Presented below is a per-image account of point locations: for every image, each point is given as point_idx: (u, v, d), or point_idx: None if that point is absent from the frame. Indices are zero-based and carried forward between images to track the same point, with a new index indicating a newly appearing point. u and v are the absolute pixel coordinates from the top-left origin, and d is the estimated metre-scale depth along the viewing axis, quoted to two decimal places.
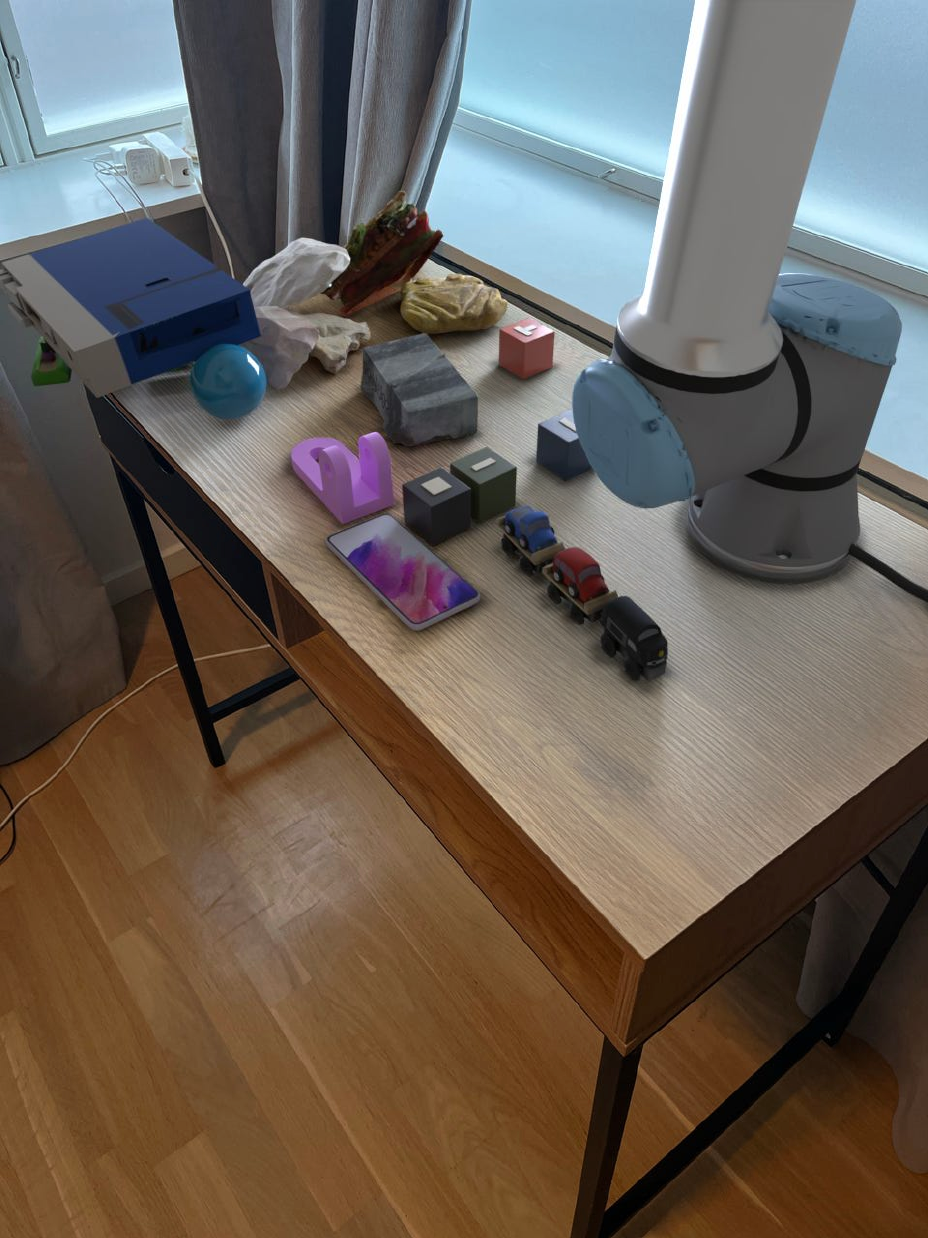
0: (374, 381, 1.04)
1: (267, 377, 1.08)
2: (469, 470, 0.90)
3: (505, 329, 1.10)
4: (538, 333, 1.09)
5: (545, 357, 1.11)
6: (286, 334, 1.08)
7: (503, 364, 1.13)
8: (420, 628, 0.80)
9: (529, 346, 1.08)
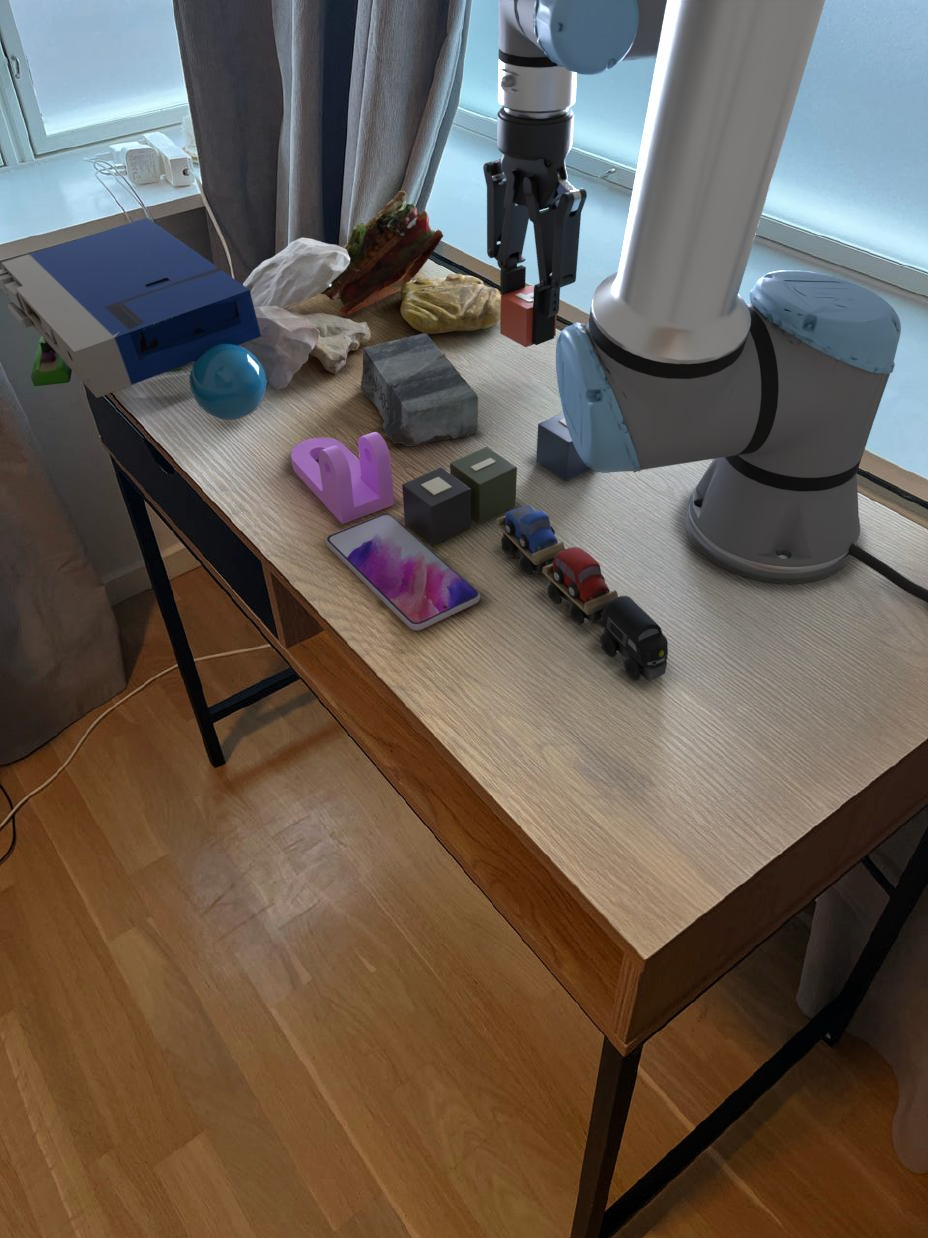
0: (374, 381, 1.04)
1: (267, 377, 1.08)
2: (469, 470, 0.90)
3: (507, 295, 1.07)
4: None
5: None
6: (286, 334, 1.08)
7: (505, 333, 1.09)
8: (420, 628, 0.80)
9: (531, 313, 1.05)
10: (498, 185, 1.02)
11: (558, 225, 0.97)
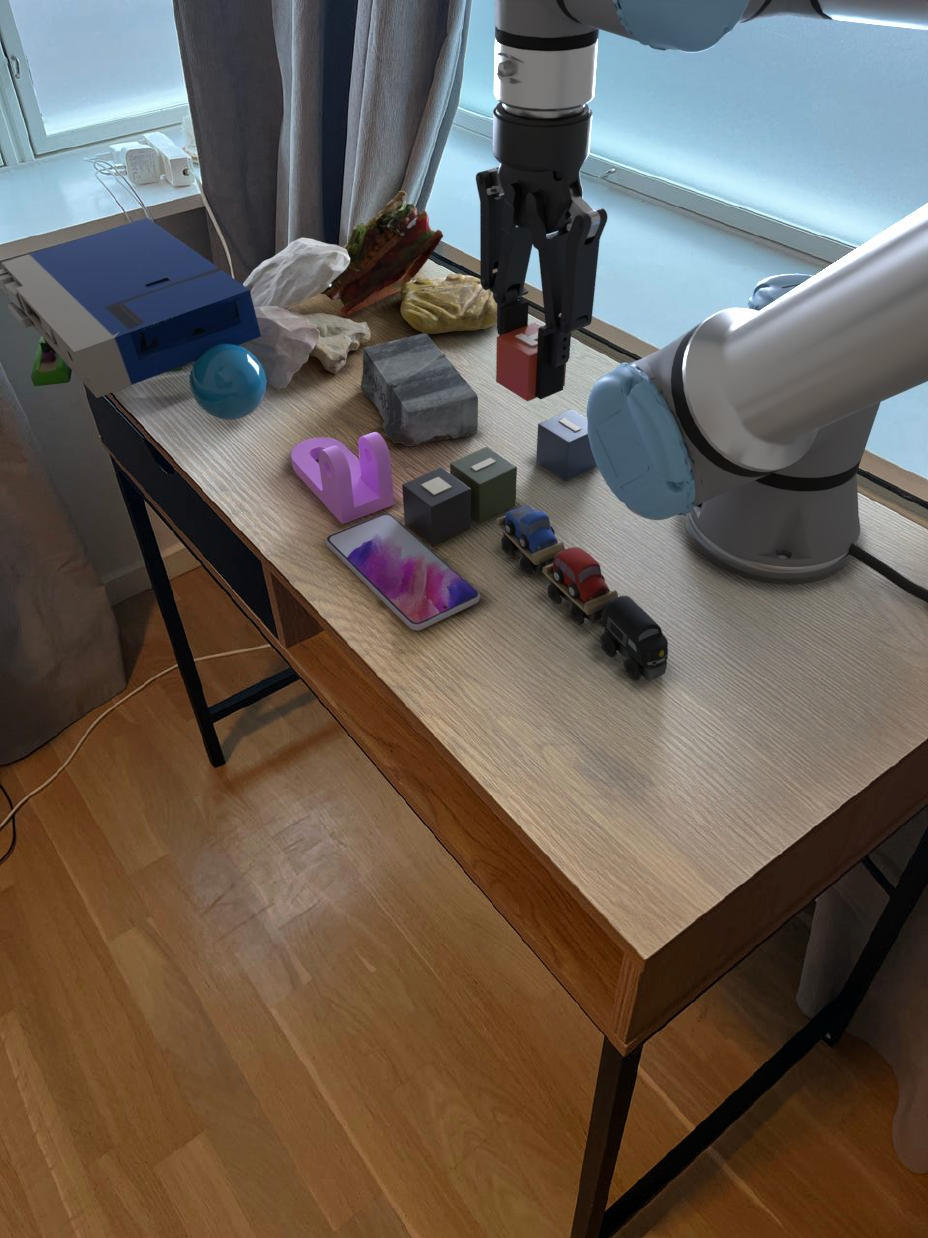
0: (374, 381, 1.04)
1: (267, 377, 1.08)
2: (469, 470, 0.90)
3: (505, 337, 0.86)
4: None
5: None
6: (287, 334, 1.08)
7: (502, 382, 0.88)
8: (420, 628, 0.80)
9: (535, 360, 0.84)
10: (494, 200, 0.81)
11: (570, 255, 0.76)
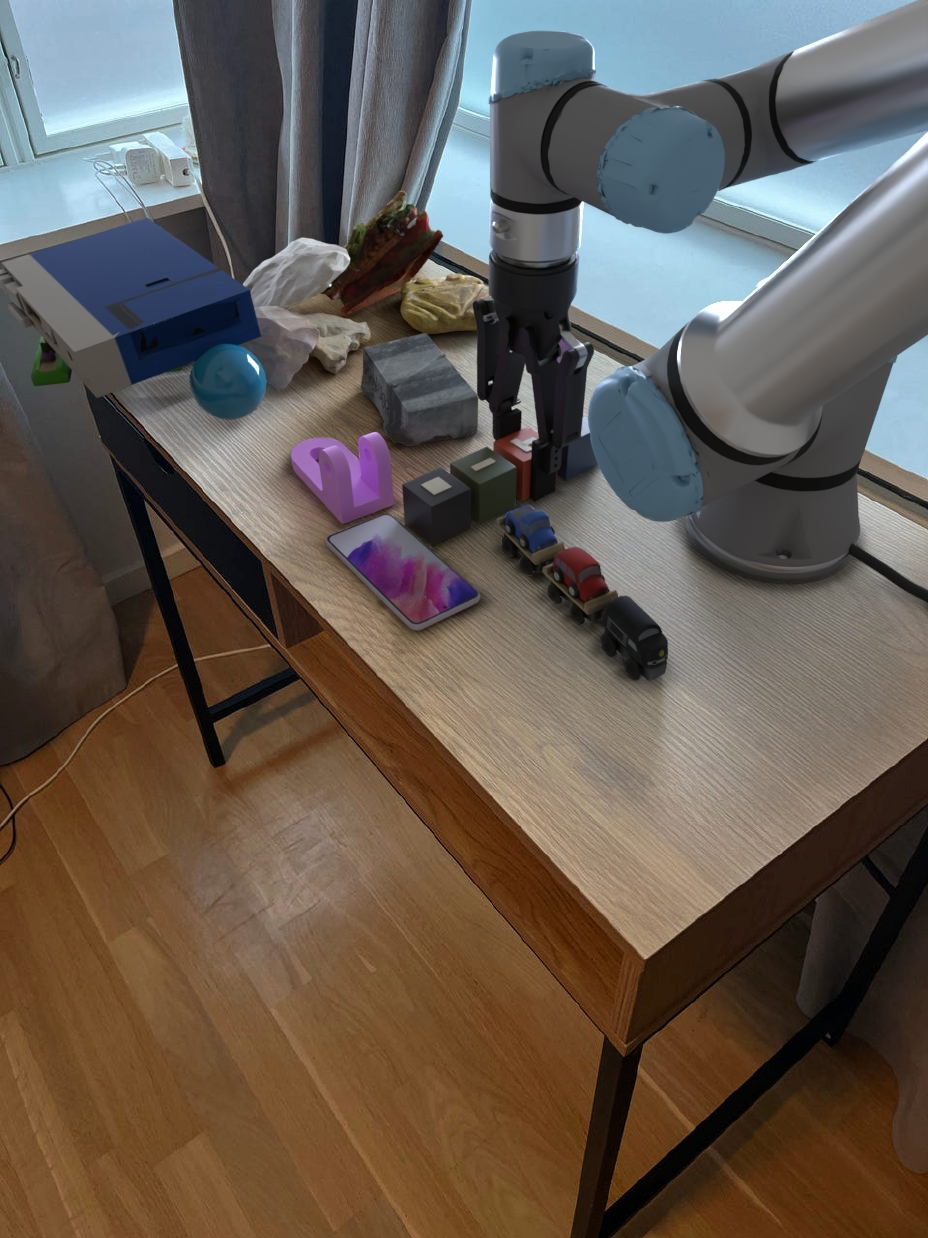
0: (374, 381, 1.04)
1: (268, 377, 1.08)
2: (469, 470, 0.90)
3: (501, 442, 0.93)
4: None
5: None
6: (287, 334, 1.08)
7: None
8: (420, 628, 0.80)
9: (529, 465, 0.91)
10: (490, 325, 0.88)
11: (560, 383, 0.83)
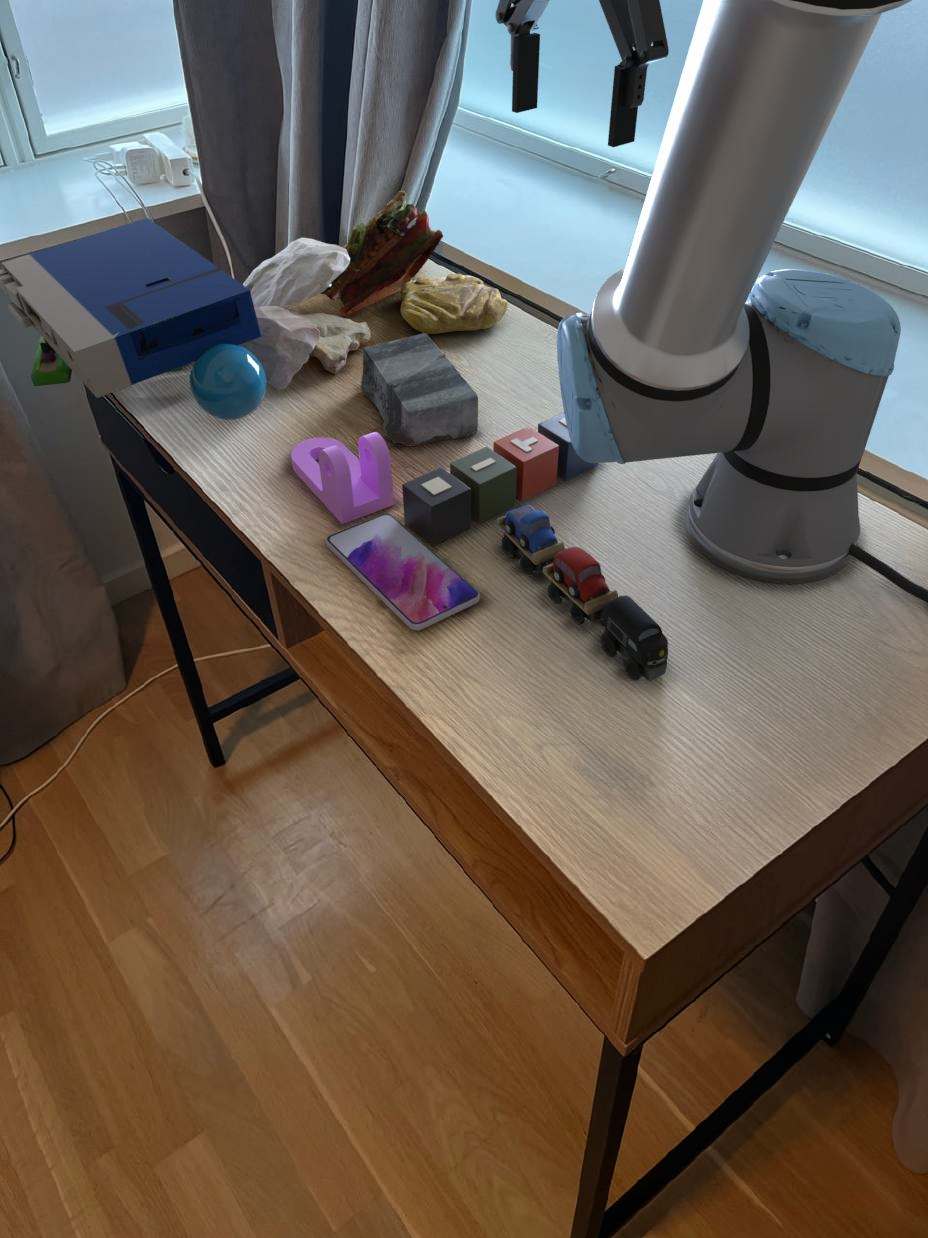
0: (374, 381, 1.04)
1: (268, 377, 1.08)
2: (469, 470, 0.90)
3: (501, 442, 0.93)
4: (539, 448, 0.92)
5: (548, 475, 0.94)
6: (287, 334, 1.08)
7: None
8: (420, 628, 0.80)
9: (529, 465, 0.91)
10: None
11: None
